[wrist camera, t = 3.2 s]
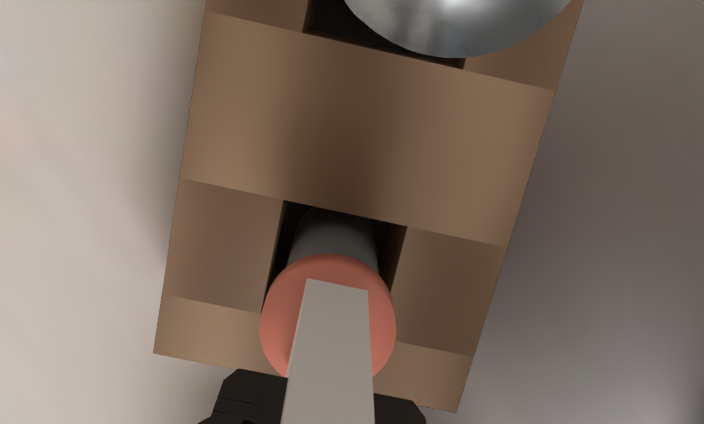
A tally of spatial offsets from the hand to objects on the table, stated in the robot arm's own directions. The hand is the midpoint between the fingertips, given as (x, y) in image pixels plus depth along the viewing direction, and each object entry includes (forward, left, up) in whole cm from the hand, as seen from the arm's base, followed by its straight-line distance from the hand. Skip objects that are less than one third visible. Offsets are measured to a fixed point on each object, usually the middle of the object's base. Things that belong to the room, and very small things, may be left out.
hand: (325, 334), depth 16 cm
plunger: (0, 0, -7) cm, 7 cm away
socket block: (0, -5, -8) cm, 10 cm away
